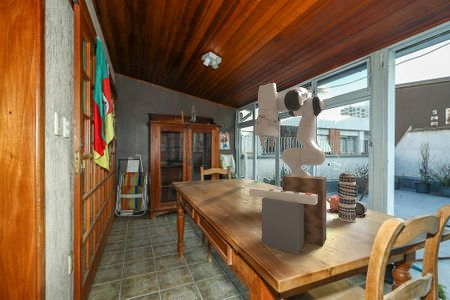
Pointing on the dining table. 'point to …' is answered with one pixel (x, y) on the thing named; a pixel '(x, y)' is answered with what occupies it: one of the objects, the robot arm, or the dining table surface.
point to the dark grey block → (283, 225)
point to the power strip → (284, 195)
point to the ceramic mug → (360, 208)
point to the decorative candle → (347, 197)
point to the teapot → (333, 202)
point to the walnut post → (312, 213)
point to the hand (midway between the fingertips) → (267, 146)
